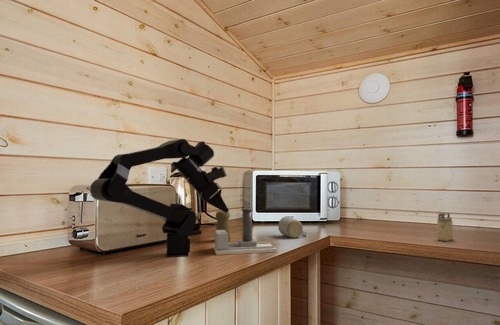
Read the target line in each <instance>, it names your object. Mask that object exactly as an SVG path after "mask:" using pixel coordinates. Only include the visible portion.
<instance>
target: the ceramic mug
mask: <svg viewBox="0 0 500 325" xmlns="http://www.w3.org/2000/svg"><path fill="white" fill-rule="evenodd" d="M277 226H278V231H279V232H280V234H281V235H283V236H286V237H288V238H291V239H297V238H299V237H301V235H302V236H304V237H307V235H308V232H306V231H305V230H304V227H303V224H302V222H300V220H298V219H296V218H293V217H291V216H284V217H282V218H281V219H280V220H279V221H278V225H277Z"/></svg>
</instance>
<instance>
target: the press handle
mask: <svg viewBox="0 0 500 325" xmlns="http://www.w3.org/2000/svg"><path fill="white" fill-rule="evenodd" d="M253 210H254V209H253V208H252V207H251V208H249V207H246V208H245V207H244V208H241V211H242V239H241V238H240V239H238V240H237V243H238V245H239V246H240V247H257V242H258V241H256V240H255V239H254V238H253V219H252V218H253Z"/></svg>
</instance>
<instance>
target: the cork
mask: <svg viewBox="0 0 500 325" xmlns="http://www.w3.org/2000/svg"><path fill="white" fill-rule="evenodd" d="M230 214H231V213H230V212H229V211H228V212H227V213H226V212H224V211H222V210H219V211H217V212H216V213H215V219H216V228H215V230H225V231H226V232H227V233H228V243H231V241H232V238H231V232H230V224H229V223H230V222H229V219H231V218H230V217H231V215H230Z"/></svg>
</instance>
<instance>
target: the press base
mask: <svg viewBox="0 0 500 325" xmlns="http://www.w3.org/2000/svg"><path fill="white" fill-rule="evenodd" d="M256 242H257V247H240V246H239V245H238V242H228V233H227V232H226V231H225V230H216V229H215V230H214V244H213V245H212V246H213V247H212V248H213V250H214V254H215V255H216V256H220V255H240V254H241V255H242V254H263V253H265V254H266V253H277V252H278V251H277V250H278V248H276V247H275V245H272V244H271V243H270V242H269V241H256Z"/></svg>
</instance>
